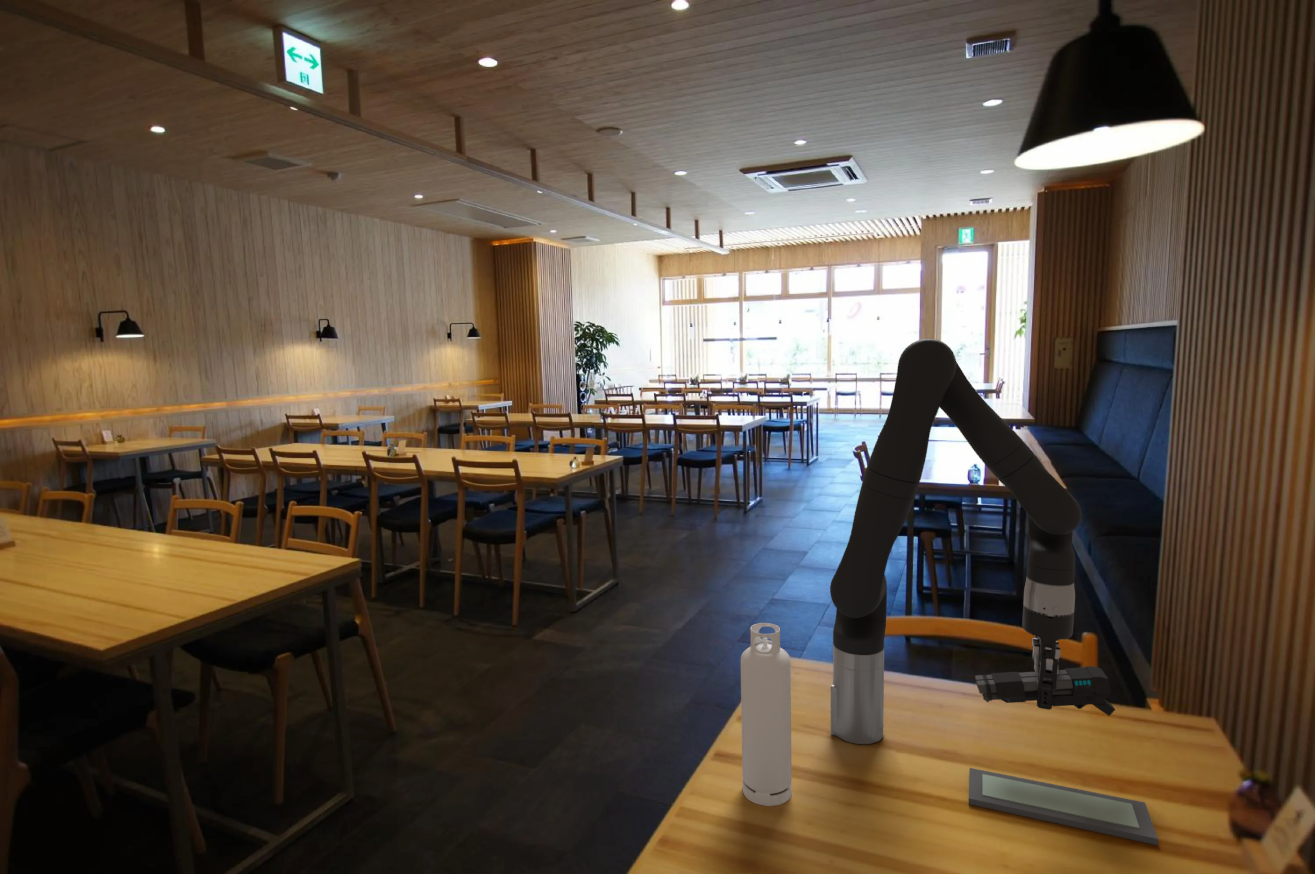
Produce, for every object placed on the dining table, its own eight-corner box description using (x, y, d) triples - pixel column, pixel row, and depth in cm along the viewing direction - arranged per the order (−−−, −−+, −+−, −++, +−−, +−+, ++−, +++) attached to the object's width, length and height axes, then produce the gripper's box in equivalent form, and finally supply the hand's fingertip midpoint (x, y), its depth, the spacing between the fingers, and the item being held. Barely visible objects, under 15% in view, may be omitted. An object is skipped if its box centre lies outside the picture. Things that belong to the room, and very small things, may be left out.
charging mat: (968, 804, 112) (968, 796, 112) (969, 773, 120) (969, 766, 120) (1157, 845, 102) (1158, 837, 102) (1144, 808, 110) (1145, 801, 110)
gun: (1122, 717, 116) (1102, 661, 116) (995, 740, 122) (977, 686, 122) (1112, 704, 120) (1094, 650, 120) (991, 726, 126) (973, 674, 126)
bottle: (795, 780, 120) (794, 621, 117) (787, 809, 112) (786, 640, 109) (748, 772, 122) (745, 617, 119) (737, 800, 115) (735, 635, 112)
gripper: (1021, 589, 127) (1016, 679, 129) (1025, 616, 114) (1020, 716, 116) (1069, 594, 124) (1063, 686, 126) (1079, 623, 111) (1072, 725, 113)
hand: (1042, 700), depth 121 cm, fingers closed on gun, 4 cm apart
